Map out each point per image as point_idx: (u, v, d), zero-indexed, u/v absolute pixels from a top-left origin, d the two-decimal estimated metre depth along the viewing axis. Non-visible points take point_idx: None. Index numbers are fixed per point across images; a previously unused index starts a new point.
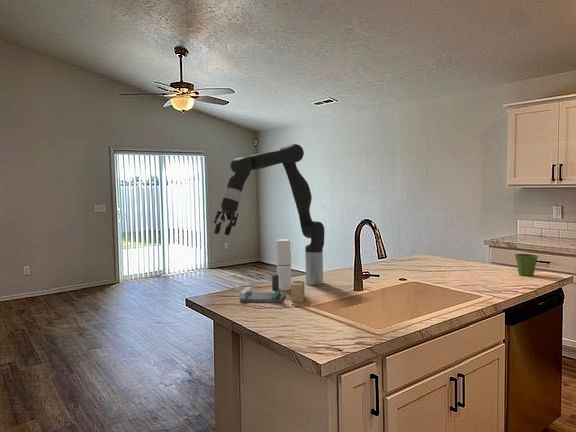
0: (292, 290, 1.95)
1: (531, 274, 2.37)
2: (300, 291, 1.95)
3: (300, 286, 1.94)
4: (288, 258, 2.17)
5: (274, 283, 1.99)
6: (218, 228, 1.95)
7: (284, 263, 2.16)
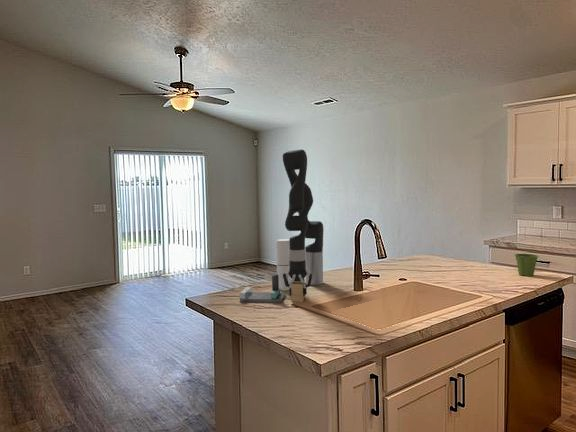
0: (292, 290, 1.95)
1: (531, 274, 2.37)
2: (300, 291, 1.95)
3: (300, 286, 1.94)
4: (288, 258, 2.17)
5: (274, 283, 1.99)
6: None
7: (284, 263, 2.16)
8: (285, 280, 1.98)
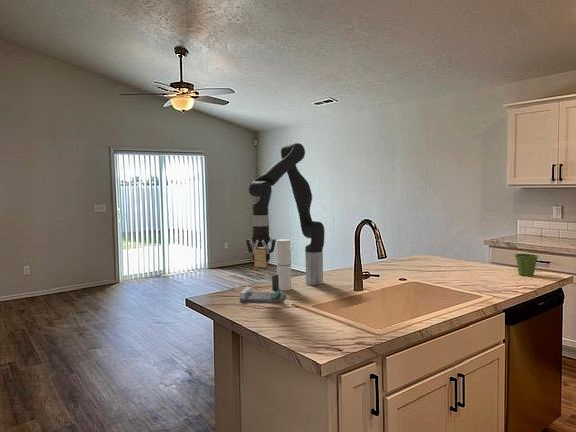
0: (255, 255, 1.96)
1: (531, 274, 2.37)
2: (263, 256, 1.96)
3: (263, 251, 1.96)
4: (288, 258, 2.17)
5: (274, 283, 1.99)
6: None
7: (284, 263, 2.16)
8: (248, 246, 1.99)
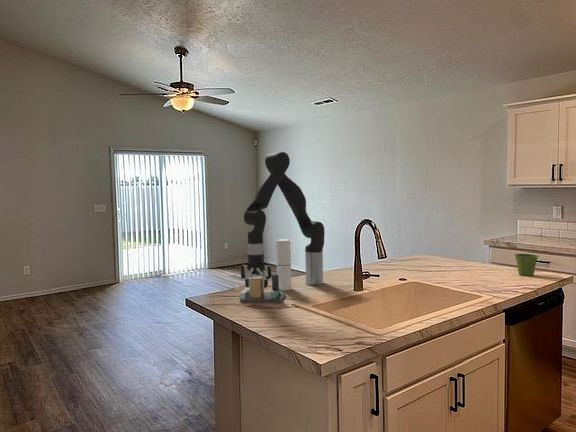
0: (250, 286, 1.98)
1: (531, 274, 2.37)
2: (258, 287, 1.98)
3: (258, 282, 1.98)
4: (288, 258, 2.17)
5: (274, 283, 1.99)
6: (248, 281, 2.02)
7: (284, 263, 2.16)
8: (242, 272, 2.01)
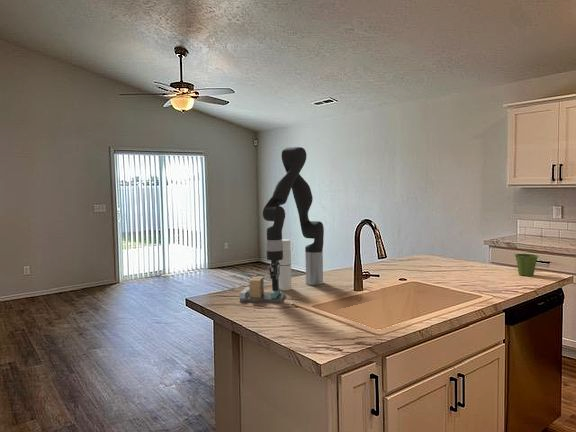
0: (250, 286, 1.98)
1: (531, 274, 2.37)
2: (258, 287, 1.98)
3: (258, 282, 1.98)
4: (288, 258, 2.17)
5: None
6: None
7: (284, 263, 2.16)
8: None
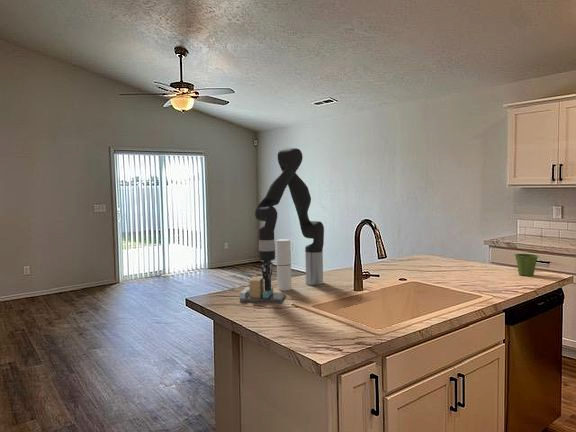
0: (250, 286, 1.98)
1: (531, 274, 2.37)
2: (258, 287, 1.98)
3: (258, 282, 1.98)
4: (288, 258, 2.17)
5: None
6: None
7: (284, 263, 2.16)
8: None
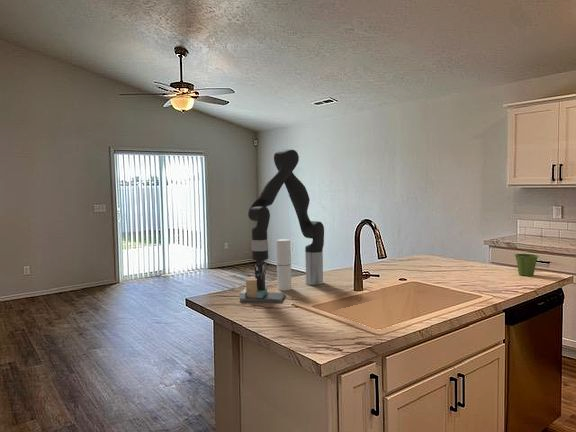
0: (247, 286, 1.99)
1: (531, 274, 2.37)
2: (255, 286, 1.98)
3: (254, 282, 1.98)
4: (288, 258, 2.17)
5: None
6: None
7: (284, 263, 2.16)
8: None
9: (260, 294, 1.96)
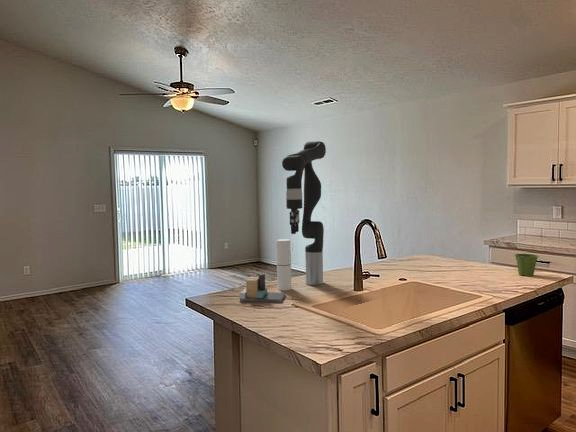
0: (247, 286, 1.99)
1: (531, 274, 2.37)
2: (255, 287, 1.98)
3: (255, 282, 1.98)
4: (288, 258, 2.17)
5: (260, 283, 2.00)
6: (296, 226, 2.08)
7: (284, 263, 2.16)
8: None
9: (260, 294, 1.96)
